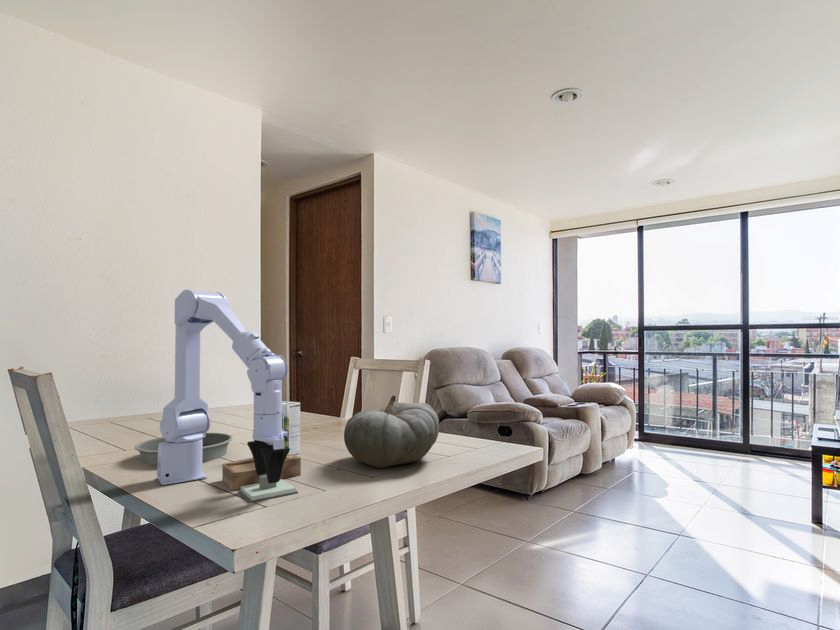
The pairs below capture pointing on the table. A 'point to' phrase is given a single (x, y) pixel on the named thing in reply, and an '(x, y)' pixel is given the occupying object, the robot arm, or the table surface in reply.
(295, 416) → the syrup box
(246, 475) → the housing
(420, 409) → the gourd
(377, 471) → the table surface
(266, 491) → the cover
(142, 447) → the cake pan
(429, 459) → the table surface
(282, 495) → the mat
